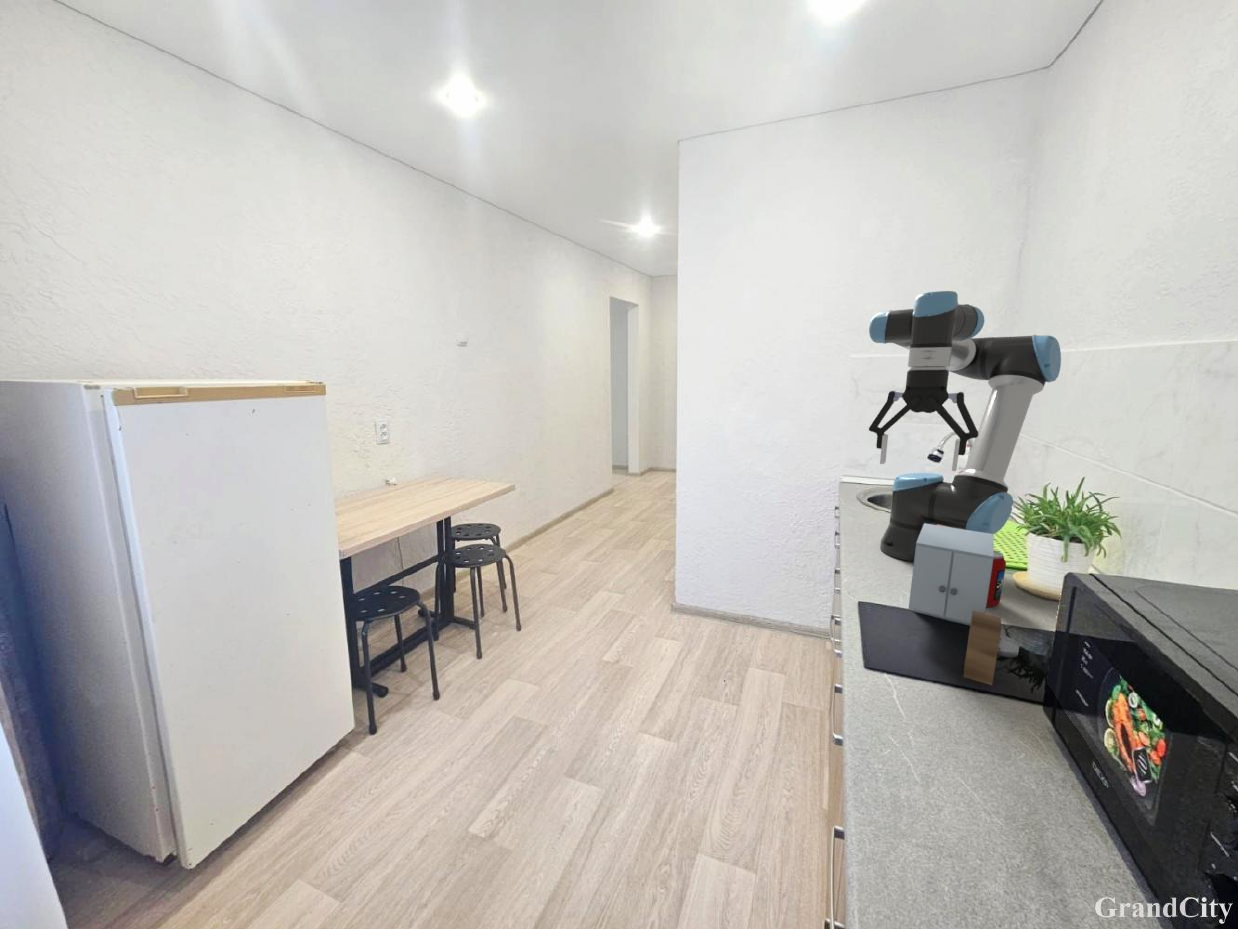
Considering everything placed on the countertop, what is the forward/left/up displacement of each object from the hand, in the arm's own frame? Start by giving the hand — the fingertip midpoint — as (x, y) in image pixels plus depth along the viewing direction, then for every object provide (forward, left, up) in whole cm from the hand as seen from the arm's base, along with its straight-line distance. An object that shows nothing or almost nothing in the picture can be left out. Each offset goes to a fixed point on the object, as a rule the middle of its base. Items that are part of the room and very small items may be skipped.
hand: (917, 466), depth 108 cm
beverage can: (-8, +15, -32) cm, 36 cm away
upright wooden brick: (+18, +15, -32) cm, 39 cm away
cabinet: (+11, +9, -32) cm, 35 cm away
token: (+13, +18, -32) cm, 39 cm away
